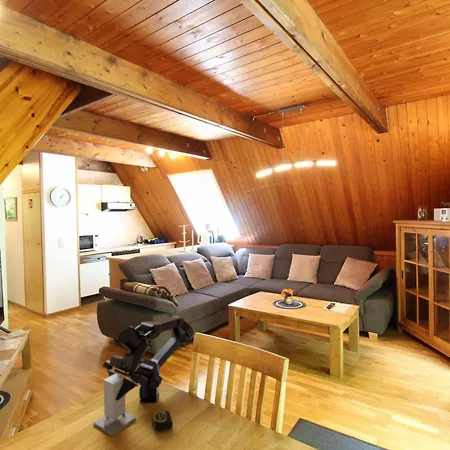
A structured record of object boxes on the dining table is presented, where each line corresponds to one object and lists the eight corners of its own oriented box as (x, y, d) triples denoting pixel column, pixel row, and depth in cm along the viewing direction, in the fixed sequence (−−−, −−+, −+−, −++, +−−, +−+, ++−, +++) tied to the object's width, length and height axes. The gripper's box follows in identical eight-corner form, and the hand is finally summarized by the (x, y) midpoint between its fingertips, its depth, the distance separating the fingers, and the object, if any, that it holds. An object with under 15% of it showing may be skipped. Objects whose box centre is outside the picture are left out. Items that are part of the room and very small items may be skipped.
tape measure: (173, 431, 111) (173, 421, 110) (152, 435, 109) (152, 425, 108) (170, 418, 117) (170, 408, 117) (151, 422, 115) (151, 412, 115)
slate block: (116, 407, 118) (115, 373, 117) (125, 412, 115) (124, 377, 114) (104, 414, 114) (103, 379, 112) (113, 420, 111) (113, 384, 110)
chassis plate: (117, 409, 121) (116, 400, 121) (135, 419, 116) (135, 410, 116) (93, 425, 113) (93, 415, 113) (112, 436, 108) (112, 426, 107)
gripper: (106, 339, 121) (80, 381, 112) (141, 352, 111) (115, 399, 102) (123, 351, 128) (100, 391, 120) (157, 364, 118) (134, 409, 110)
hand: (111, 397), depth 113 cm, fingers closed on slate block, 5 cm apart
